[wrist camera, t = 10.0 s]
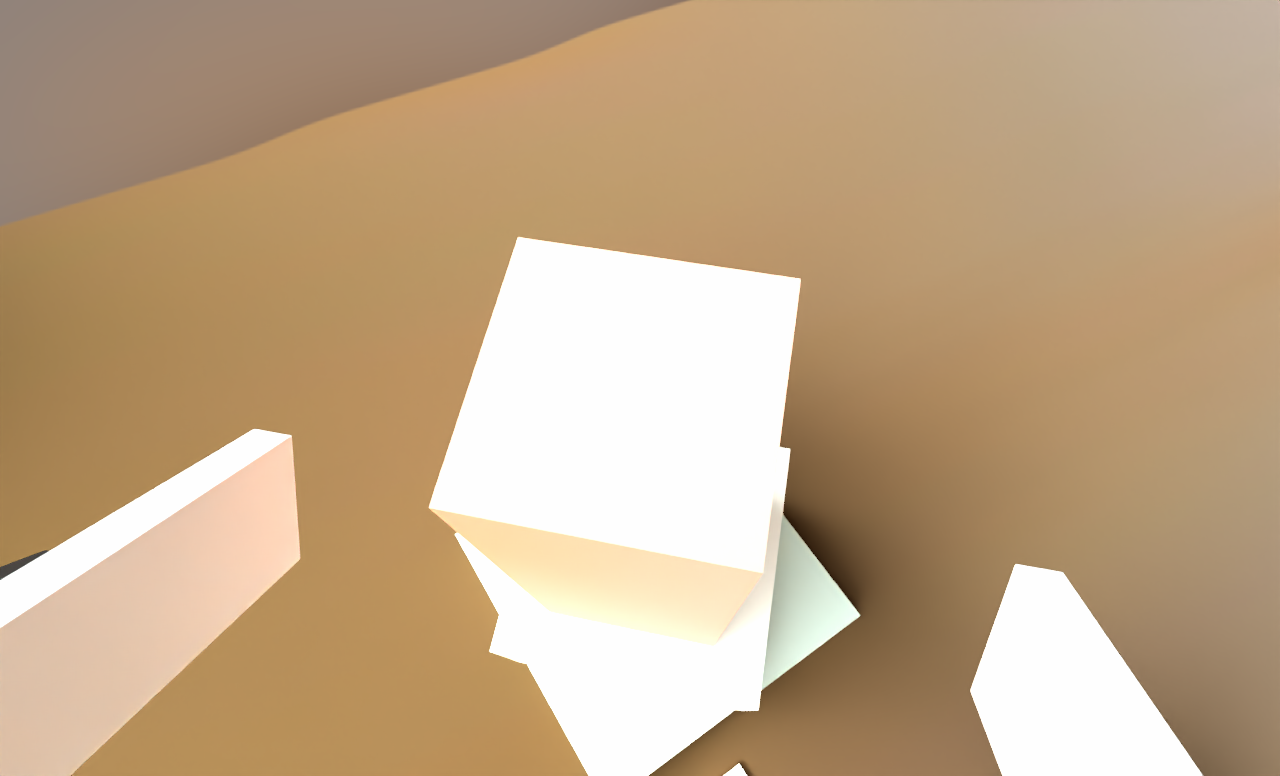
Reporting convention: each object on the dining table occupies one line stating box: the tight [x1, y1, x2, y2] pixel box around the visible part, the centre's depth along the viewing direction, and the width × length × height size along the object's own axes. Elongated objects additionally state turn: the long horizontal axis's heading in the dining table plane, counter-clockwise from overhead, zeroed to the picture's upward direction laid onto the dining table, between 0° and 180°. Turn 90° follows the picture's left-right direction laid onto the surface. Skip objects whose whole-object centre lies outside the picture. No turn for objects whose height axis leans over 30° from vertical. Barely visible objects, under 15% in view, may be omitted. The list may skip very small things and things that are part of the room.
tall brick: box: [429, 237, 801, 646], centre depth 17 cm, size 5×5×12 cm
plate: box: [455, 515, 861, 776], centre depth 27 cm, size 11×11×1 cm
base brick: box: [489, 447, 790, 711], centre depth 25 cm, size 8×8×5 cm
